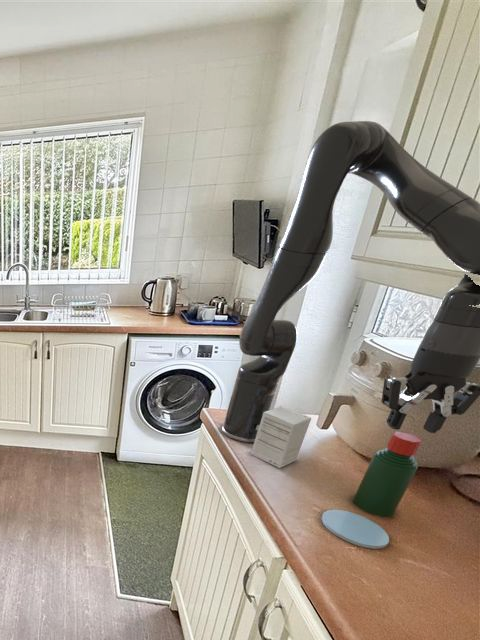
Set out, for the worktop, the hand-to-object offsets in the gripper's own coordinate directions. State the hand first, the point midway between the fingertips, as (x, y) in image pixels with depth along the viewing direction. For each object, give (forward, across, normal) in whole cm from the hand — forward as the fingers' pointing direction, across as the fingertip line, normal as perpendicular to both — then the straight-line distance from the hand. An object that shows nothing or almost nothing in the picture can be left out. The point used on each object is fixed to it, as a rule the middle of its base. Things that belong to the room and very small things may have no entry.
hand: (410, 428), depth 79 cm
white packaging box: (+19, +13, -16) cm, 28 cm away
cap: (+5, 0, 0) cm, 5 cm away
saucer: (+19, +8, +9) cm, 23 cm away
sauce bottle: (+19, 0, 0) cm, 19 cm away
